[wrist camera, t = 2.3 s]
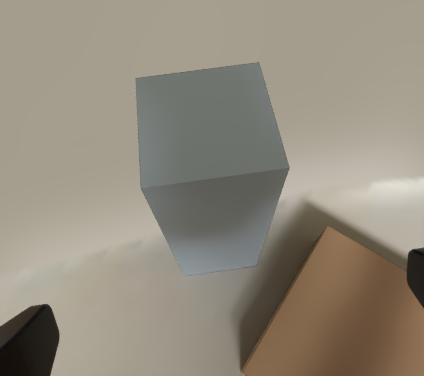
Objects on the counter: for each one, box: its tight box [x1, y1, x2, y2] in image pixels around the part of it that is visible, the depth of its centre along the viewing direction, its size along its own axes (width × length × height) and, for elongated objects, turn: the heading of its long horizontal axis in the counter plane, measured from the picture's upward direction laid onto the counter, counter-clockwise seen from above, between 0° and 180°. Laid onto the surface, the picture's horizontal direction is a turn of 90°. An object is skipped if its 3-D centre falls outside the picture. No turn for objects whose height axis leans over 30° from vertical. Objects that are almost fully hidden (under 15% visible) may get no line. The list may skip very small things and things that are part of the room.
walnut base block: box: [241, 226, 424, 376], centre depth 17 cm, size 9×9×3 cm
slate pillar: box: [136, 62, 289, 276], centre depth 16 cm, size 4×4×12 cm
